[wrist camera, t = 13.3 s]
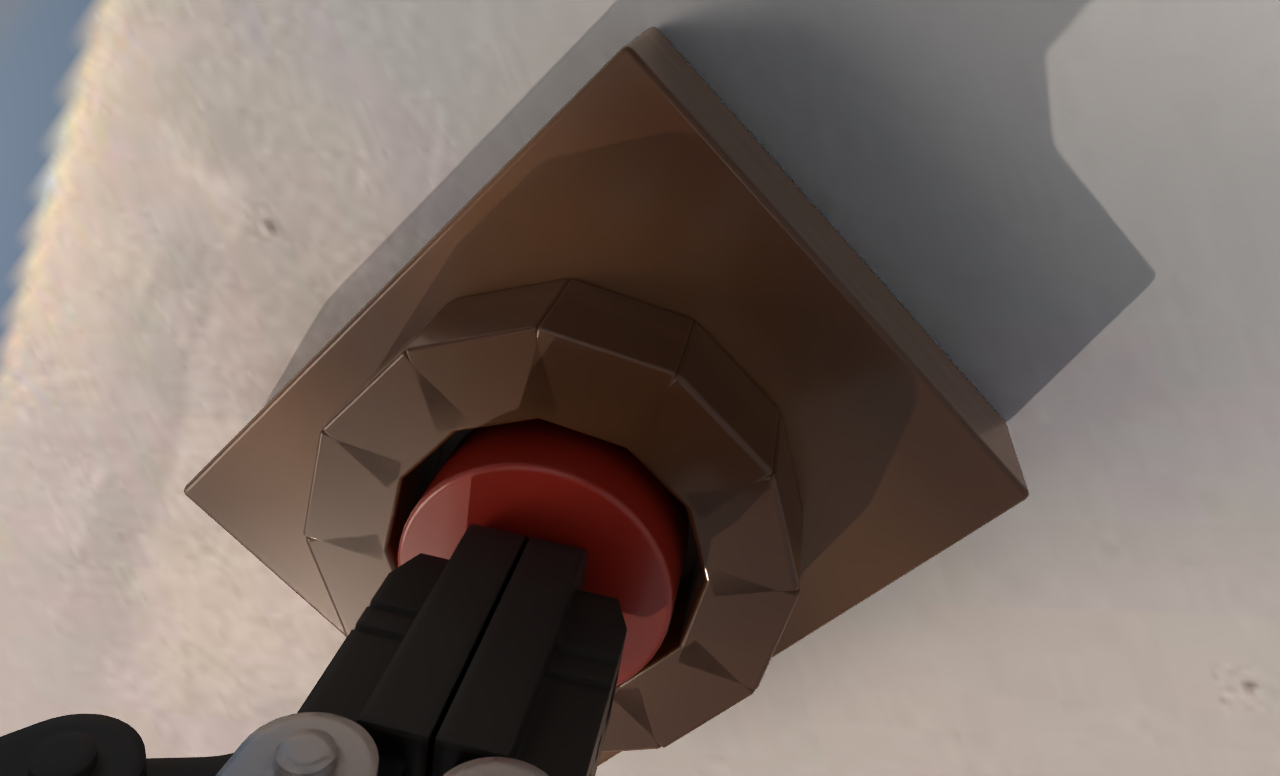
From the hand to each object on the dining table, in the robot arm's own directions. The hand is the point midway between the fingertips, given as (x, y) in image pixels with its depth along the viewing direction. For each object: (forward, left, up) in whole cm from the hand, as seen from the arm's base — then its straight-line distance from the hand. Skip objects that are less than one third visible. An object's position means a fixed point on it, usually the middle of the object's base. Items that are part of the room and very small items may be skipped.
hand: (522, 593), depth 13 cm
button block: (0, 0, -5) cm, 5 cm away
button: (0, 0, -2) cm, 2 cm away
